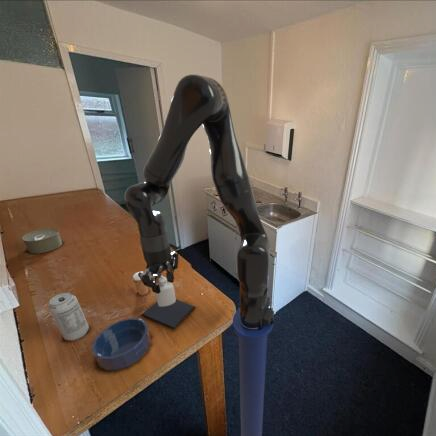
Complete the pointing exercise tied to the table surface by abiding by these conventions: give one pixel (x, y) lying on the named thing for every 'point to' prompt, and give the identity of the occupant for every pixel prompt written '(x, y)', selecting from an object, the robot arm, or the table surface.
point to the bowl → (121, 344)
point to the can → (42, 240)
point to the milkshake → (140, 285)
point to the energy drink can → (68, 316)
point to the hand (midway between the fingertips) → (164, 286)
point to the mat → (169, 313)
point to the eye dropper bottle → (165, 293)
